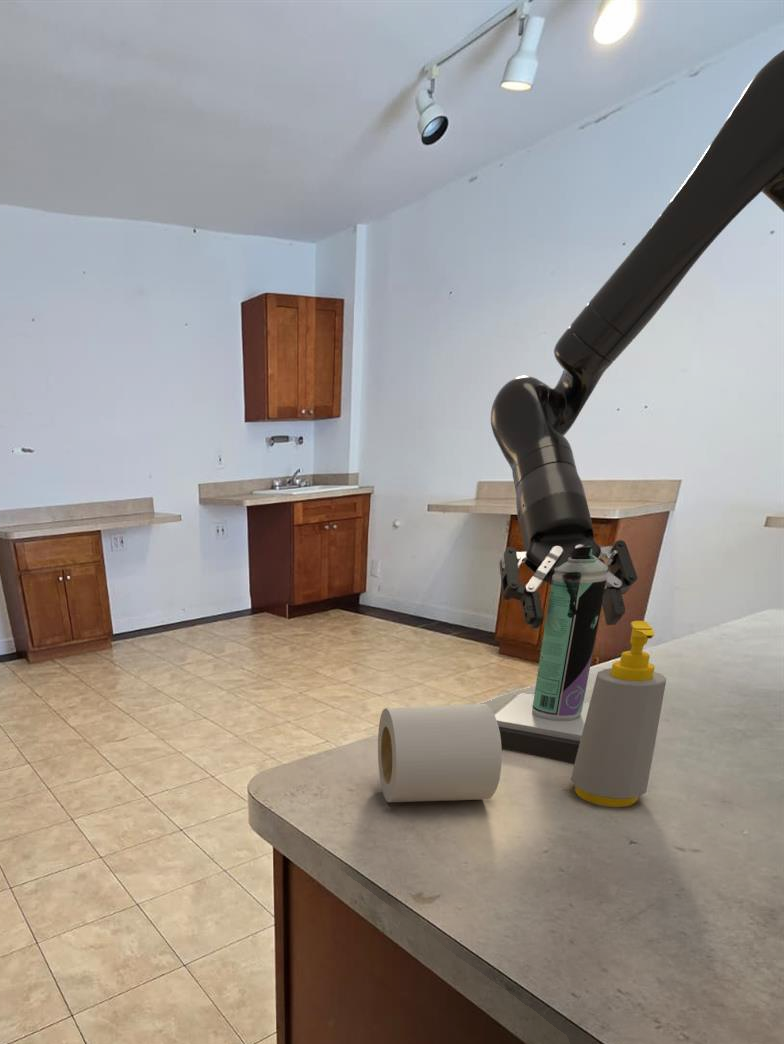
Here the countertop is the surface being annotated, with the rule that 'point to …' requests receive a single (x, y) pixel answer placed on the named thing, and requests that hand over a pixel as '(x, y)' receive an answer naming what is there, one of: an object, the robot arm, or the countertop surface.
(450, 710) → the toilet paper
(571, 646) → the spray can
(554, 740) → the scale
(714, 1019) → the countertop surface
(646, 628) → the soap bottle
